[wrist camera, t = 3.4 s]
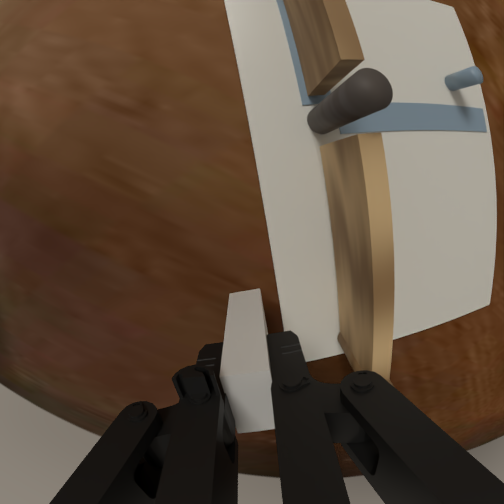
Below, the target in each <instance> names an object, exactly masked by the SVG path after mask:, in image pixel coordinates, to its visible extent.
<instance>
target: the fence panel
mask: <svg viewBox="0 0 504 504" xmlns="http://www.w3.org/2000/svg"><path fill="white" fill-rule="evenodd" d="M320 152H321V158H322V164H323V170H324V177H325V183H326V190H327V197H328V205H329V212H330V220H331V228H332V237H333V246H334V256H335V266H336V278H337V290H338V305H339V321H340V332H339V334H338V337H337V340H338V342H339V344H340V346H341V348H342V350H343V351H344V353H345V355H346V357H347V359H348V361H349V363H350V365H351V366H352V368H353V370H354V372H356V371H361V370H368V371H373V372H376V373H378V374H379V375H381V376H382V377H383V378H384V379H385V380H387V381H388V382H389V383H390V384H391V385H392V386H393V384H392V383H391V381H390V380H389V377H390V368H391V357H392V344H393V327H394V292H395V277H394V242H393V225H392V211H391V200H390V190H389V182H388V173H387V166H386V159H385V152H384V146H383V140H382V134H381V133H366V134H356V135H353V136H350V137H347V138H343V139H340V140H337V141H334V142H331V143H328V144H325V145H322V146H320ZM393 387H394V386H393Z"/></svg>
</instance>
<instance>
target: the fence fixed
mask: <svg viewBox="0 0 504 504" xmlns="http://www.w3.org/2000/svg"><path fill="white" fill-rule="evenodd" d="M283 2H284V5H285V8H286V12H287V15H288V19H289V22H290V26H291V29H292V33H293V37H294V41H295V44H296V48H297V52H298V56H299V60H300V64H301V68H302V73H303V77H304V81H305V86H306V90H307V95H308V96H316V95H325V94H326V93H327V92H328V91H330V90H331V89H332V88H333V87H334V86H335V85H336V84H337V83H338V82H340V81H341V80H342V79H343V78H344V77H345V76H346V75H348V74H349V73H350V72H351V71H352V70H353V69H354V68H356V67H357V66H358V65H359V64H360V63H361V62H363V61H364V60H365V59H364V55H363V52H362V49H361V45H360V42H359V39H358V36H357V32H356V29H355V26H354V23H353V20H352V18H351V15H350V12H349V9H348V6H347V4H346V1H345V0H283ZM392 97H393V91H392V87H391V84H390V82H389V81H388V79H387V78H386V77H385V76H384V75H383V74H382V73H381V72H379V71H377V70H375V69H372V68H362V69H359V70H358V71H356V72H355V73H354V74H353V75H352V76H350V77H349V78H348V79H347V80H346V81H344V82H343V83H342V84H341V85H340V86H338V87H337V88H336V89H335V90H334V91H333V92H331V93H330V94H329V95H328V96H327V97H326V98H325V99H323V100H322V101H321V102H320V103H319V104H318V105H317V106H315V107H314V108H313V109H312V110H311V111H310V112H309V114H308V116H307V123H308V125H309V127H310V129H311V130H312V131H314V132H315V133H318V134H326V133H329V132H331V131H333V130H335V129H338V128H340V127H342V126H344V125H347V124H349V123H351V122H354V121H356V120H358V119H361V118H363V117H366V116H368V115H370V114H373V113H375V112H378V111H380V110H383V109H385V108H386V107H388V106H389V105H390V103H391V101H392Z"/></svg>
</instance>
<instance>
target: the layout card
mask: <svg viewBox="0 0 504 504" xmlns="http://www.w3.org/2000/svg"><path fill="white" fill-rule="evenodd" d="M345 1H346V4H347V6H348V9H349V12H350V15H351V18H352V20H353V23H354V26H355V29H356V32H357V36H358V39H359V42H360V45H361V49H362V52H363V55H364V59H365V60H364V61H363V62H361V63H360V64H359V65H358V66H357V67H356V68H354V69H353V70H352V71H351V72H350V73H349V74H348V75H346V76H345V77H344V78H343V79H342V80H341V81H340V82H338V83H337V84H336V85H335V86H334V87H333V88H332V89H331V90H330V91H328V92H327V93H326V94H325V95H316V96H308V95H307V90H306V86H305V81H304V77H303V73H302V68H301V64H300V60H299V56H298V52H297V48H296V44H295V41H294V37H293V33H292V29H291V26H290V22H289V19H288V15H287V12H286V8H285V5H284V2H283V0H224V3H225V8H226V12H227V17H228V22H229V26H230V31H231V36H232V41H233V46H234V51H235V56H236V61H237V66H238V71H239V76H240V81H241V86H242V91H243V96H244V101H245V107H246V112H247V117H248V123H249V128H250V133H251V139H252V144H253V149H254V155H255V160H256V166H257V172H258V177H259V183H260V188H261V194H262V200H263V206H264V211H265V217H266V223H267V229H268V235H269V241H270V247H271V253H272V259H273V265H274V271H275V277H276V283H277V290H278V296H279V302H280V309H281V315H282V322H283V328H284V332H285V331H290V330H291V331H292V332H293V333H295V334H296V335H297V336H298V338H299V342H300V345H301V348H302V351H303V355H304V358H305V361H306V362H308V361H312V360H317V359H322V358H326V357H330V356H335V355H339V354H343V353H344V351H343V350H342V348H341V346H340V344H339V342H338V340H337V337H338V334H339V332H340V321H339V305H338V290H337V278H336V266H335V256H334V246H333V237H332V228H331V220H330V212H329V205H328V197H327V190H326V183H325V177H324V170H323V164H322V158H321V152H320V146H322V145H325V144H328V143H331V142H334V141H337V140H340V139H343V138H347V137H350V136H353V135H356V134H366V133H381V134H382V140H383V146H384V152H385V159H386V166H387V173H388V182H389V190H390V200H391V211H392V225H393V242H394V277H395V292H394V327H393V340H394V339H397V338H400V337H403V336H407V335H410V334H413V333H416V332H419V331H422V330H425V329H428V328H431V327H433V326H436V325H439V324H442V323H444V322H447V321H450V320H452V319H455V318H458V317H460V316H463V315H465V314H468V313H470V312H473V311H475V310H477V309H480V308H482V307H485V306H487V305H489V304H490V298H491V291H492V283H493V275H494V264H495V251H496V224H497V209H496V182H495V169H494V159H493V150H492V142H491V136H490V129H489V123H488V118H487V113H486V108H485V103H484V98H483V94H482V90H481V86H480V84H481V83H482V82H483V75H482V73H481V71H480V70H479V69H478V68H477V67H476V66H475V64H474V61H473V58H472V55H471V52H470V49H469V46H468V43H467V40H466V38H465V35H464V32H463V30H462V27H461V25H460V22H459V20H458V17H457V15H456V13H455V10H454V8H453V7H451V6H447V5H444V4H441V3H437V2H434V1H430V0H345ZM362 68H372V69H375V70H377V71H379V72H381V73H382V74H383V75H384V76H385V77H386V78H387V79H388V81H389V82H390V84H391V87H392V91H393V97H392V101H391V103H390V105H389V106H388V107H386V108H385V109H383V110H380V111H378V112H375V113H373V114H370V115H368V116H366V117H363V118H361V119H358V120H356V121H354V122H351V123H349V124H347V125H344V126H342V127H340V128H338V129H335V130H333V131H331V132H329V133H326V134H318V133H315V132H314V131H312V130H311V129H310V127H309V125H308V123H307V116H308V114H309V112H310V111H311V110H312V109H313V108H314V107H315V106H317V105H318V104H319V103H320V102H321V101H322V100H323V99H325V98H326V97H327V96H328V95H329V94H330V93H331V92H333V91H334V90H335V89H336V88H337V87H338V86H340V85H341V84H342V83H343V82H344V81H346V80H347V79H348V78H349V77H350V76H352V75H353V74H354V73H355V72H356V71H358V70H359V69H362Z"/></svg>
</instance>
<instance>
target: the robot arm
mask: <svg viewBox="0 0 504 504" xmlns="http://www.w3.org/2000/svg"><path fill="white" fill-rule="evenodd" d="M172 381H173V383H174V386H175V388H176V390H177V393H178V395H179V398H180V400H179V403H177V404H175V405H173V406H170V407H166V408H162V409H158V410H157V408H156V407H155V406H154V405H153V403H150V402H147V401H139V402H135V403H132V404H130V405H128V406H126V407H125V408H124V409H123V410H122V411H121V412H120V414H119V415H118V416H117V418H116V419H115V420H114V421H113V423H112V424H111V425H110V427H109V428H108V429H107V430H106V432H105V433H104V434H103V435H102V437H101V438H100V439H99V441H98V442H97V443H96V444H95V446H94V447H93V448H92V450H91V451H90V452H89V453H88V455H87V456H86V457H85V458H84V460H83V461H82V462H81V464H80V465H79V466H78V467H77V469H76V470H75V471H74V473H73V474H72V475H71V477H70V478H69V479H68V480H67V482H66V483H65V484H64V486H63V487H62V488H61V489H60V491H59V492H58V493H57V495H56V496H55V497H54V498H53V500H52V501H51V502H50V504H238V503H237V502H238V442H237V439H236V436H235V426H236V429H237V432H238V433H246V432H255V431H263V430H270V429H275V433H276V443H277V452H278V461H279V471H280V480H281V489H282V498H283V504H350V501H349V497H348V494H347V490H346V487H345V483H344V480H343V476H342V473H341V469H340V466H339V462H338V459H337V455H336V452H335V448H334V445H333V443H341V445H342V446H343V448H344V449H345V451H346V452H347V453H348V455H349V456H350V457H351V459H352V460H353V462H354V463H355V464H356V466H357V467H358V468H359V470H360V471H361V472H362V474H363V475H364V476H365V478H366V479H367V480H368V482H369V483H370V484H371V486H372V487H373V488H374V490H375V491H376V492H377V494H378V495H379V496H380V498H381V499H382V500H383V501H384V503H385V504H504V483H503V482H502V481H501V480H499V479H498V478H497V477H496V476H495V475H493V474H492V473H491V472H490V471H489V470H488V469H487V468H486V467H484V466H483V465H482V464H481V463H480V462H479V461H477V460H476V459H475V458H474V457H473V456H472V455H470V454H469V453H468V452H467V451H466V450H465V449H464V448H463V447H461V446H460V445H459V444H458V443H457V442H456V441H455V440H453V439H452V438H451V437H450V436H449V435H448V434H447V433H445V432H444V431H443V430H442V429H441V428H440V427H439V426H437V425H436V424H435V423H434V422H433V421H432V420H431V419H430V418H428V417H427V416H426V415H425V414H424V413H423V412H422V411H420V410H419V409H418V408H417V407H416V406H415V405H414V404H413V403H411V402H410V401H409V400H408V399H407V398H406V397H405V396H403V395H402V394H401V393H400V392H399V391H398V390H397V389H396V388H394V387H393V386H392V385H391V384H390V383H389V382H388V381H387V380H385V379H384V378H383V377H382V376H381V375H379V374H378V373H376V372H373V371H368V370H361V371H356V372H352V373H350V374H349V375H347V376H345V377H344V379H343V380H342V381H341V384H328V383H322V382H319V381H317V380H315V379H313V378H312V377H311V375H310V374H309V371H308V368H307V364H306V361H305V358H304V355H303V351H302V348H301V345H300V342H299V338H298V336H297V335H296V334H295V333H293V332H292V331H291V330H290V331H285V332H279V333H273V334H268V331H267V325H266V320H265V314H264V309H263V303H262V298H261V292H260V289H254V290H248V291H242V292H236V293H230V295H229V303H228V311H227V319H226V327H225V335H224V342H221V343H214V344H206V345H205V346H204V347H203V348H202V349H201V350H200V352H199V355H198V359H197V363H196V365H192V366H187V367H185V368H183V369H181V370H179V371H178V372H177V373H175V375H174V376H173V378H172Z"/></svg>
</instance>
